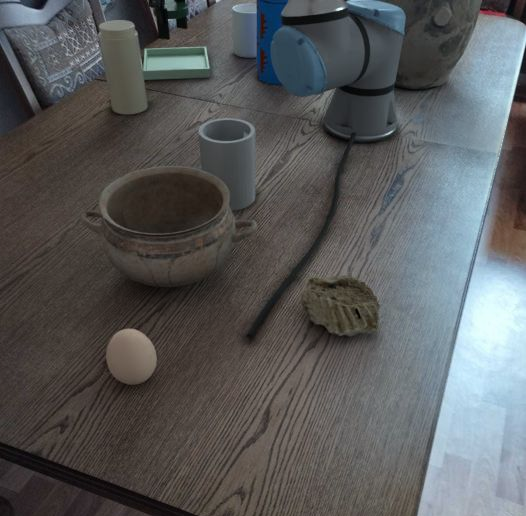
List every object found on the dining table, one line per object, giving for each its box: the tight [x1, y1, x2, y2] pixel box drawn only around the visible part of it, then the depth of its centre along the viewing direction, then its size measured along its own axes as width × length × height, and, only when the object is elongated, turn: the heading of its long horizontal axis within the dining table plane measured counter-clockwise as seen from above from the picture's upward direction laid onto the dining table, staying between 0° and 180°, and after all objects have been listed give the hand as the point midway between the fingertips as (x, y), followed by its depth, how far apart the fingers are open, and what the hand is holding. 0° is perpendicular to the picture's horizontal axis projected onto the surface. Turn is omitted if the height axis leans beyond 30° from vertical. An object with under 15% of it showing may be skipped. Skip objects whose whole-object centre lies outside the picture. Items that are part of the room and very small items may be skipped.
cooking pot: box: [79, 165, 258, 288], centre depth 78 cm, size 25×19×12 cm
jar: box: [97, 19, 149, 115], centre depth 118 cm, size 8×8×16 cm
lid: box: [152, 0, 190, 20], centre depth 132 cm, size 8×8×2 cm
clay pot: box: [376, 0, 483, 90], centre depth 126 cm, size 22×23×30 cm
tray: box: [142, 46, 211, 81], centre depth 140 cm, size 16×16×2 cm
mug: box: [231, 3, 257, 59], centre depth 146 cm, size 9×12×11 cm
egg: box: [105, 328, 158, 386], centre depth 65 cm, size 6×6×8 cm
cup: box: [197, 117, 256, 212], centre depth 93 cm, size 9×9×12 cm
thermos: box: [256, 0, 288, 85], centre depth 128 cm, size 11×11×25 cm
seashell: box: [300, 275, 381, 337], centre depth 73 cm, size 11×7×10 cm
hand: (173, 33), depth 136 cm, fingers closed on lid, 8 cm apart
